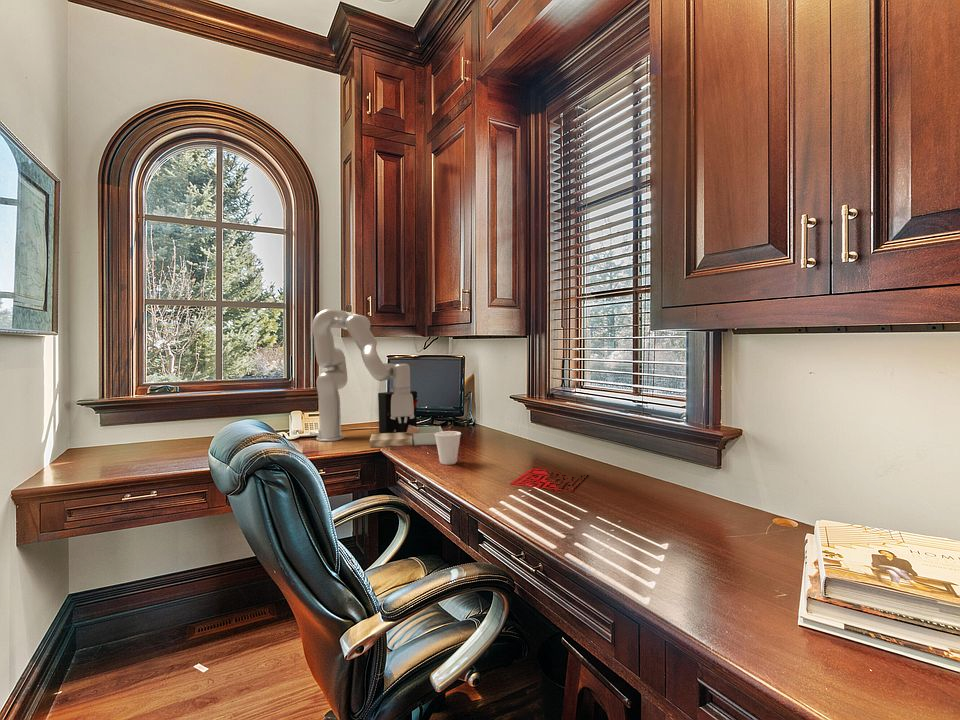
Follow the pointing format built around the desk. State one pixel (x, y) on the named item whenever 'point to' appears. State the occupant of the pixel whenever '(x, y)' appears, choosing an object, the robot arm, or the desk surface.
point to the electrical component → (385, 414)
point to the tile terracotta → (412, 430)
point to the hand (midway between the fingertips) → (402, 431)
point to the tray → (426, 436)
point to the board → (391, 439)
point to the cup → (448, 446)
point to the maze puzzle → (534, 480)
